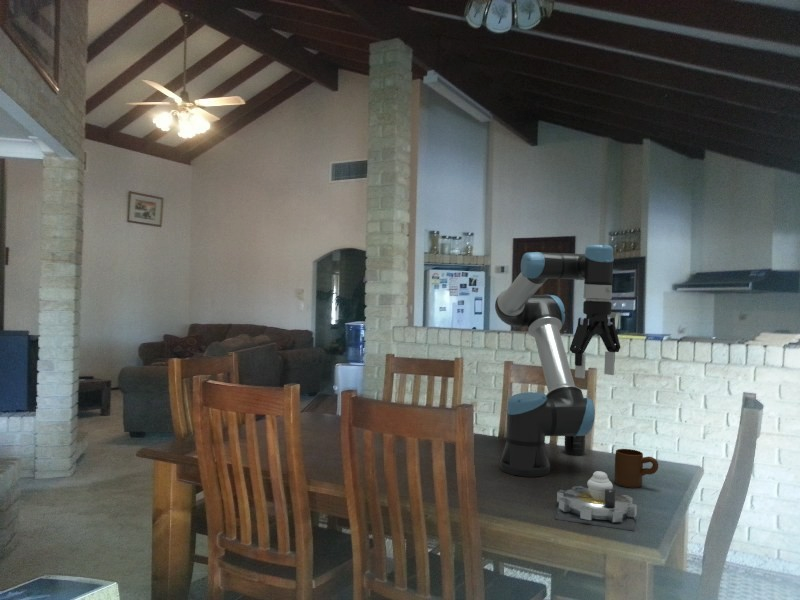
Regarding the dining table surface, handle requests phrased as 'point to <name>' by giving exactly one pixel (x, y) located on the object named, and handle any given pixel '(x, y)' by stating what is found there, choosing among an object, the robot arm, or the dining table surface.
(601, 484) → the muffin
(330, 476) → the dining table surface
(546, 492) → the dining table surface
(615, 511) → the sprocket
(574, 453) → the supplement bottle
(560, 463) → the dining table surface
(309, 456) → the dining table surface
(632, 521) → the base plate
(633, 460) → the mug
